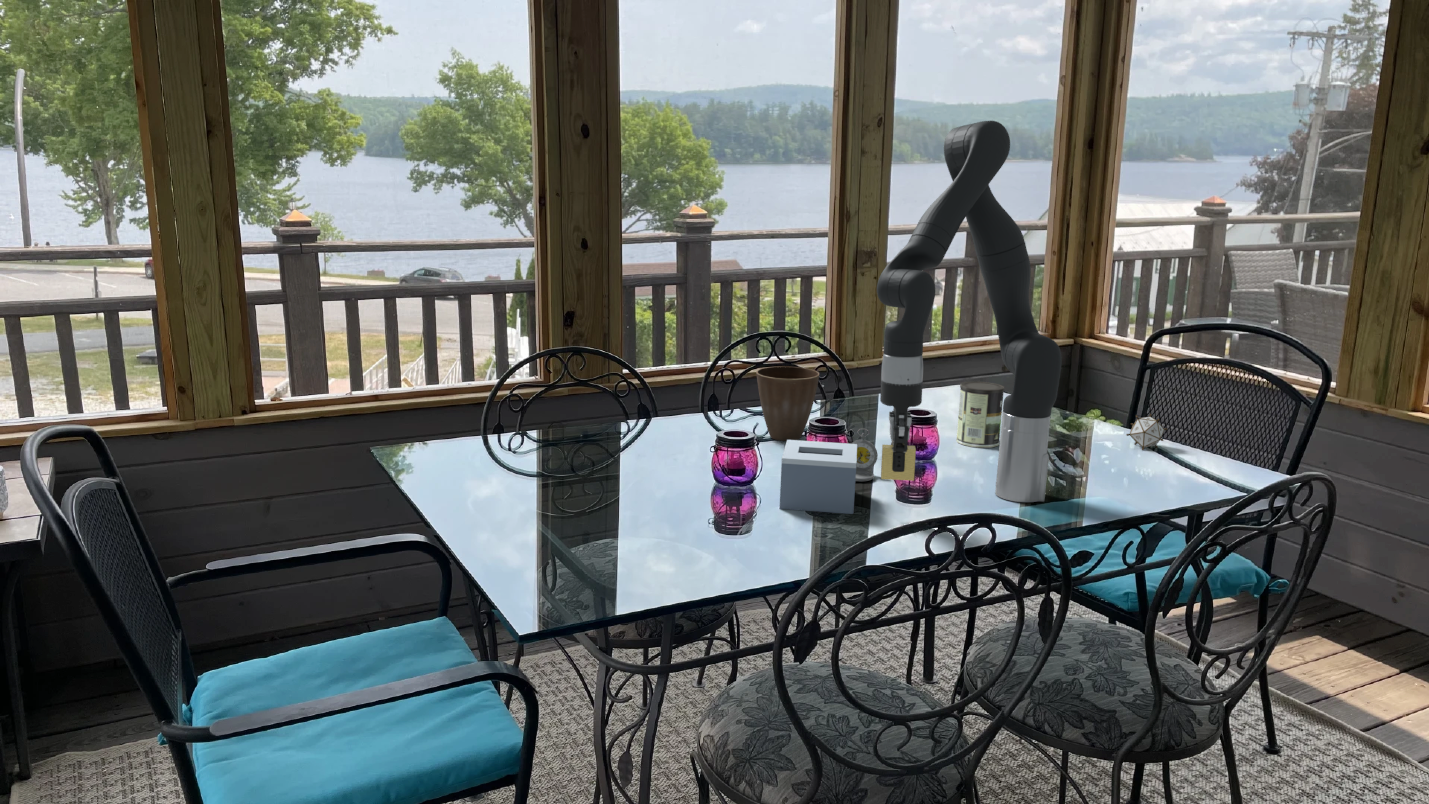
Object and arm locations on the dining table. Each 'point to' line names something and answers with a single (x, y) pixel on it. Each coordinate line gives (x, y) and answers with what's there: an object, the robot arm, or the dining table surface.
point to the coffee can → (980, 414)
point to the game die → (1146, 431)
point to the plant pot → (786, 399)
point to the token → (888, 461)
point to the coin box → (818, 476)
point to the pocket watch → (861, 467)
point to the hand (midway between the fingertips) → (897, 468)
